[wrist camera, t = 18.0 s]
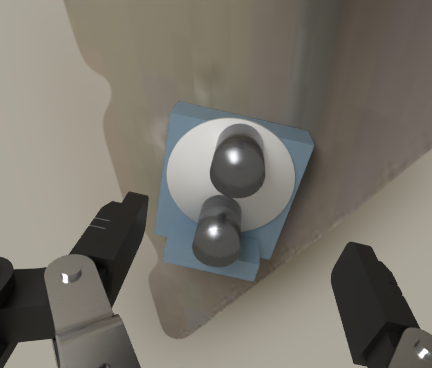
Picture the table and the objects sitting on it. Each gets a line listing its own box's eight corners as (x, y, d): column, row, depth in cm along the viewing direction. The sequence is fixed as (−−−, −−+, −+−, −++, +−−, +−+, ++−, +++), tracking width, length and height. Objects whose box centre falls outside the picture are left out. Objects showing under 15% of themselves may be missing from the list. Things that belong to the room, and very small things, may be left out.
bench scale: (180, 91, 33) (161, 115, 26) (311, 122, 33) (327, 153, 26) (161, 217, 41) (143, 260, 34) (267, 241, 42) (270, 288, 35)
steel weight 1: (222, 118, 29) (215, 143, 24) (268, 129, 29) (272, 156, 24) (212, 160, 31) (204, 191, 26) (256, 170, 32) (256, 203, 26)
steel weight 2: (204, 190, 33) (196, 225, 28) (246, 199, 33) (245, 236, 28) (197, 224, 35) (188, 261, 30) (236, 232, 36) (234, 271, 30)
